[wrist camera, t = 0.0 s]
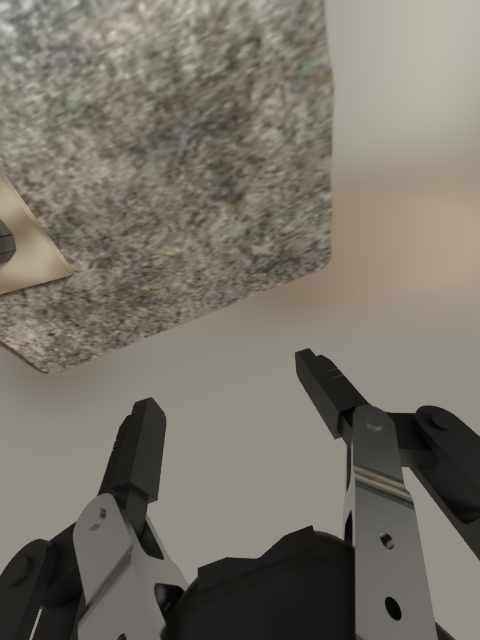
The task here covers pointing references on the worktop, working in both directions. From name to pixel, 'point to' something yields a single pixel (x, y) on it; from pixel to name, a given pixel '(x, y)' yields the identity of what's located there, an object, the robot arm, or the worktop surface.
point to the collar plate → (25, 245)
